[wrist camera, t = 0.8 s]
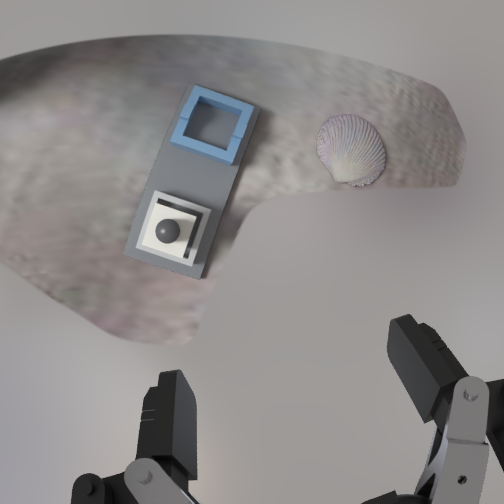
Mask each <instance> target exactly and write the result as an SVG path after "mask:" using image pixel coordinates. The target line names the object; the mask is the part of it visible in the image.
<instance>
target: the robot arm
mask: <svg viewBox="0 0 504 504" xmlns="http://www.w3.org/2000/svg"><path fill="white" fill-rule="evenodd" d="M387 353H388V357H389V359H390V362H391V363H392V365H393V366H394V369H395V370H396V372H397V374H398V376H399V377H400V379H401V381H402V383H403V385H404V386H405V388H406V390H407V392H408V394H409V395H410V397H411V399H412V401H413V403H414V405H415V407H416V408H417V410H418V412H419V414H420V416H421V418H422V420H423V421H424V423H427V422H429V421H431V420H434V421H435V423H436V427H435V430H434V434H433V439H432V443H431V446H430V451H429V454H428V458H427V461H426V464H425V468H424V470H423V473H422V475H421V477H420V479H419V481H418V484H417V486H416V489H415V492H414V495H410V494H405V495H397V494H396V492H395V491H392V492H389V493H387V494H384V495H382V496H379V497H376V498H373V499H370V500H368V501H365V502H363V503H362V504H479V500H480V496H481V492H482V487H483V482H484V478H485V472H486V467H487V462H488V456H489V445H488V443H485V434H486V436H487V438H488V440H489V442H490V444H491V446H492V447H493V450H494V452H495V454H496V456H497V458H498V460H499V463H500V465H501V467H502V469H503V471H504V379H501V380H496V381H491V382H484V381H483V380H482V379H480V378H478V377H473V376H469V375H468V374H467V373H466V371H465V370H464V368H463V367H462V366H461V364H460V363H459V361H457V359H456V357H455V356H454V355H453V354H452V352H451V351H450V349H449V348H447V345H446V344H445V343H444V341H443V340H441V337H440V336H439V335H438V333H437V332H436V331H435V330H434V329H433V328H431V327H430V326H428V325H427V324H425V323H421V324H418V323H417V322H416V321H415V319H414V318H413V317H412V316H411V315H410V314H407V315H404V316H401V317H398V318H395V319H392V320H391V321H390V326H389V335H388V343H387ZM196 406H197V405H196V399H195V396H194V393H193V391H192V389H191V388H190V386H189V384H188V382H187V380H186V379H185V377H184V375H183V373H182V371H181V370H173V371H166V372H161V373H160V374H159V380H158V386H157V387H150V389H149V390H148V392H147V394H146V395H145V397H144V400H143V407H142V411H143V412H142V415H141V422H140V430H139V437H138V445H137V454H136V458H135V461H133V462H132V463H131V464H129V465H128V467H127V468H126V470H125V472H122V473H120V474H116V475H113V476H109V477H106V478H102V479H101V478H100V477H99V476H97V475H95V474H91V473H88V474H83V475H81V476H80V477H78V478H77V479H76V481H75V483H74V485H73V489H72V498H71V504H201V503H200V502H199V501H198V500H197V499H196V498H195V497H194V496H193V495H192V494H191V493H190V491H189V490H188V481H189V480H197V407H196Z"/></svg>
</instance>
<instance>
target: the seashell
mask: <svg viewBox="0 0 504 504" xmlns="http://www.w3.org/2000/svg"><path fill="white" fill-rule="evenodd" d="M317 150H318V155H319V156H320V160H321V162H323V164H324V165H325V166H326V168H327V169H328V170H329V171H330V172H331V174H332V175H333V178H334V180H335V181H336V182H338V183H344V182H347V183H349V184H350V185H352V186H354V187H355V185H357V186H364V185H365V184H371V183H370V182H373V181H374V180H375V179H377V178H378V176H379V174H380V173H381V172H382V170H384V166H385V163H384V162H385V158H384V157H386V156H385V153H383V152H384V151H385V150H384V148H383V144H382V142H381V139H380V138H379V135H378V133H377V132H376V130H375V129H374V128H373V126H372V125H370V123H369V122H367V121H366V120H365V119H364V120H363V119H362V118H361V117H358V116H354V115H352V114H351V115H348V114H347V115H338V116H335V117H333V118H331V119H329V120H327V122H325V124H324V125H323V126H322V128H321V129H320V131H319V134H318V138H317Z"/></svg>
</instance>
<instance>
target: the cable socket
mask: <svg viewBox="0 0 504 504" xmlns="http://www.w3.org/2000/svg"><path fill="white" fill-rule="evenodd" d="M260 110H261V108H259V107H257V106H254V105H251V104H249V103H246V102H244V101H241V100H238V99H236V98H233V97H230V96H228V95H225V94H222V93H219V92H216V91H213V90H211V89H208V88H205V87H202V86H199V85H196V84H192V83H189V85H188V87H187V89H186V91H185V93H184V95H183V97H182V99H181V102H180V104H179V106H178V108H177V110H176V113H175V115H174V117H173V119H172V122H171V124H170V126H169V129H168V131H167V133H166V136H165V138H164V140H163V143H162V145H161V148H160V150H159V153H158V155H157V158H156V160H155V163H154V165H153V168H152V170H151V173H150V176H149V178H148V181H147V184H146V186H145V189H144V192H143V195H142V198H141V200H140V203H139V206H138V209H137V212H136V215H135V218H134V221H133V224H132V227H131V230H130V234H129V237H128V240H127V243H126V246H125V250H124V253H123V255H126V256H129V257H132V258H135V259H138V260H141V261H144V262H147V263H150V264H152V265H155V266H158V267H161V268H164V269H167V270H170V271H173V272H176V273H179V274H182V275H186V276H189V277H192V278H195V279H198V280H200V277H201V274H202V271H203V268H204V265H205V262H206V259H207V256H208V253H209V250H210V247H211V244H212V241H213V238H214V235H215V233H216V230H217V227H218V224H219V221H220V218H221V215H222V213H223V210H224V207H225V204H226V201H227V198H228V196H229V193H230V190H231V187H232V185H233V182H234V179H235V176H236V174H237V171H238V168H239V166H240V163H241V160H242V157H243V155H244V152H245V149H246V147H247V144H248V141H249V139H250V136H251V134H252V131H253V128H254V126H255V123H256V121H257V118H258V115H259V113H260ZM155 203H158V204H161V205H164V206H166V207H169V208H172V209H175V210H178V211H181V212H184V213H187V214H190V215H193V216H196V220H195V223H194V225H193V228H192V231H191V234H190V237H189V240H188V243H187V246H186V249H185V252H184V255H183V258H180V257H177V256H174V255H171V254H168V253H165V252H162V251H159V250H156V249H153V248H150V247H147V246H144V245H142V242H143V239H144V236H145V232H146V229H147V226H148V223H149V220H150V217H151V214H152V211H153V209H154V206H155Z"/></svg>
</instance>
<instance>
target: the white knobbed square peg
mask: <svg viewBox="0 0 504 504" xmlns="http://www.w3.org/2000/svg"><path fill="white" fill-rule="evenodd" d="M195 220H196V216H193V215H190V214H187V213H184V212H181V211H178V210H175V209H172V208H169V207H166V206H164V205H161V204H158V203H155V206H154V209H153V211H152V214H151V217H150V220H149V223H148V226H147V229H146V232H145V236H144V239H143V242H142V245H144V246H147V247H150V248H153V249H156V250H159V251H162V252H165V253H168V254H171V255H174V256H177V257H180V258H183V255H184V252H185V249H186V246H187V243H188V240H189V237H190V234H191V231H192V228H193V225H194V223H195Z"/></svg>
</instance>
